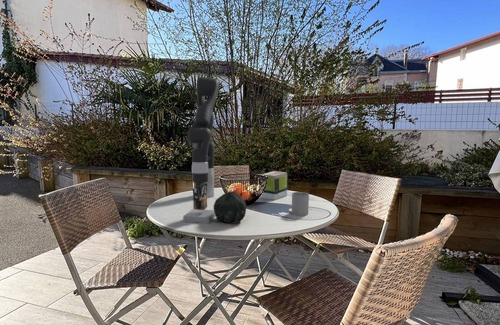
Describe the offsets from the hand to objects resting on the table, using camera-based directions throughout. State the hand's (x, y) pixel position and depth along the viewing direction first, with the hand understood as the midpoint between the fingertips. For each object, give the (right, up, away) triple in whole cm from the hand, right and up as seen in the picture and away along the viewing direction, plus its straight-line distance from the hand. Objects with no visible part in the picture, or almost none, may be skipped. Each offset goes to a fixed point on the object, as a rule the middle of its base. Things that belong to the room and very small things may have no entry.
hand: (200, 207), depth 146 cm
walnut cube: (0, -1, 0) cm, 0 cm away
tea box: (+38, 0, +45) cm, 59 cm away
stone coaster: (0, -5, +1) cm, 5 cm away
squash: (+14, -6, -2) cm, 16 cm away
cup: (+48, -5, +11) cm, 50 cm away
